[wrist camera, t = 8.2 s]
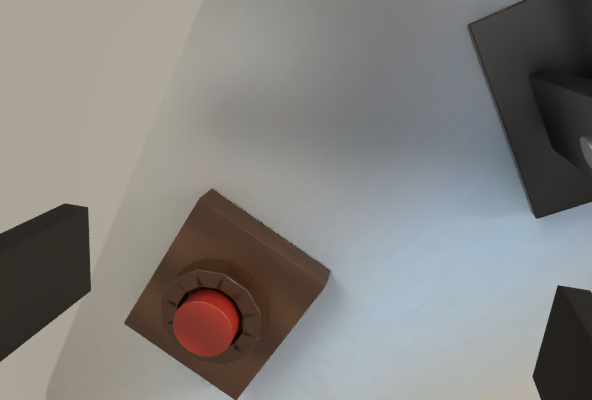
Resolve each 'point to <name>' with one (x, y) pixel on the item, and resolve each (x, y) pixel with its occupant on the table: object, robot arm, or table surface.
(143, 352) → the table surface
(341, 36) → the table surface
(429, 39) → the table surface
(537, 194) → the bracket
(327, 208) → the table surface
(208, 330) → the button
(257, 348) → the button block
